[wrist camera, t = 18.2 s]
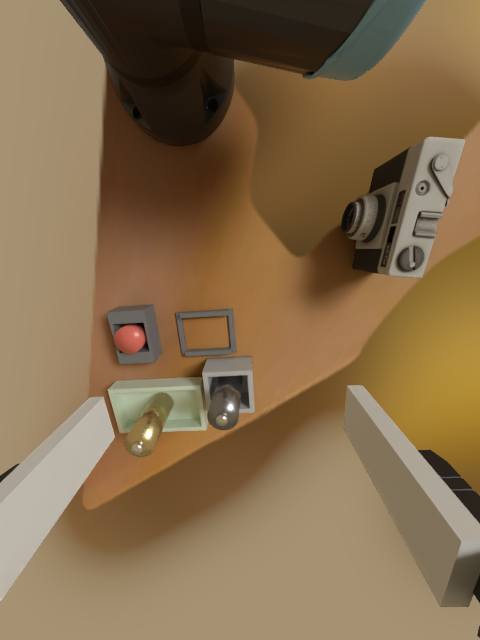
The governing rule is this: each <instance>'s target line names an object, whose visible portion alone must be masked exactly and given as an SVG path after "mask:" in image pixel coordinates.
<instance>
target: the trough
mask: <svg viewBox="0 0 480 640" xmlns="http://www.w3.org/2000/svg"><path fill="white" fill-rule="evenodd" d="M159 392H163V393H167V394H168V395H170V396H171V397H172V399H173V401H174V406H173V408H172V410H171V412H170V415H169V417H168V419H167V421H166V423H165V425H164V428H163V430H162V432H168V431H195V430H207V425H208V419H207V413H208V412H207V405H206V398H205V390H204V383H203V377H187V378H166V379H146V380H125V381H116V382H115V383H114V384H113V385H112V386H111V387H110V388H109V389H108V393H109V397H110V400H111V404H112V407H113V411H114V415H115V418H116V422H117V425H118V429H119V432H120V433H129V432H130V431H131V429H132V428H133V426H134V425H135V423H136V421H137V420H138V418H139V417H140V415H141V413H142V412H143V410H144V409H145V407H146V406H147V404H148V402H149V401H150V399H151V398H152V396H153V395H154V394H156V393H159Z"/></svg>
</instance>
